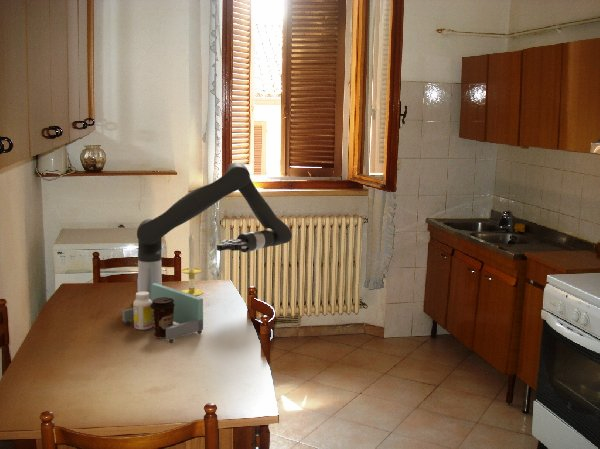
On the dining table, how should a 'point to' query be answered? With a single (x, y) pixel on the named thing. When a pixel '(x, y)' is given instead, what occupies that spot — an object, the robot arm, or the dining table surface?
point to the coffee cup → (162, 315)
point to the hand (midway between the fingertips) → (218, 247)
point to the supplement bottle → (142, 311)
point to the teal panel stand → (176, 311)
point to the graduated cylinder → (192, 270)
